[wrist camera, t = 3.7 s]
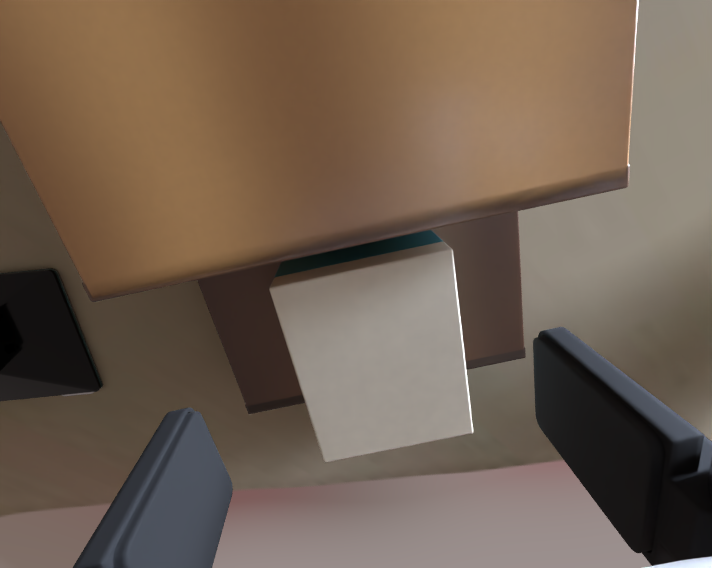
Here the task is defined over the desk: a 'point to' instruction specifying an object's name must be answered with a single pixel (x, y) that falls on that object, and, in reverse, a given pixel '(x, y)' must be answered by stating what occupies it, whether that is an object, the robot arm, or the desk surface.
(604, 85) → the shelf
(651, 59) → the desk surface
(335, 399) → the box
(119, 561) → the robot arm
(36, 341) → the black stand
